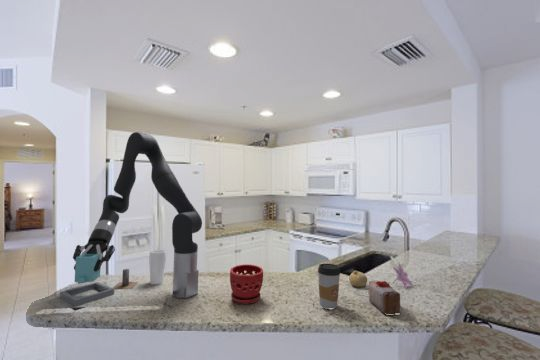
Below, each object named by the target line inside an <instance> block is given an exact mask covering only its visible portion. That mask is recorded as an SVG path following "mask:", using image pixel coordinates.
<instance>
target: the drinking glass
mask: <svg viewBox="0 0 540 360" xmlns="http://www.w3.org/2000/svg"><path fill="white" fill-rule="evenodd" d="M148 257H149V258H148V261H149V263H148V264H149V283H150V285H159V284H163V282H164V278H165V277H164V276H165V269H166V259H167V251H166V250H165V249H153V250H150V251H149V256H148Z"/></svg>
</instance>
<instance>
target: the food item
mask: <svg viewBox="0 0 540 360" xmlns="http://www.w3.org/2000/svg"><path fill="white" fill-rule="evenodd" d="M390 283H391V281H389V282H387V281H386V280H382V281H381V280H377V279H376V280H370V281H368V301H369V302H370V301H371V302H372V303H371V302H370V303H371V304H373V305H374V306H375V307H376V308H377V309H378V310H379V309H380V310H379V311H381V313H383V314H384V313H386V314H395V313H400V314H401V294H400V293H399V292H398V291H396V289H394V288H393V287H392V286H391V285H390Z"/></svg>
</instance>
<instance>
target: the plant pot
mask: <svg viewBox="0 0 540 360" xmlns="http://www.w3.org/2000/svg"><path fill="white" fill-rule="evenodd" d="M229 271H230V272H229V284H230V289H231V291H232V292H231V295H230V297H231V299H232V300H233V301H234V302H236V303H238V304H243V305H249V303H250V304H253V303H256V302H257V301H259V300H260V298H261V290H262V287H263V281H264V268H263V267H261V266H259V265H255V264H239V265H235V266H233V267H231V268H230V270H229ZM253 272H254V273H253Z"/></svg>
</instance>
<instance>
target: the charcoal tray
mask: <svg viewBox="0 0 540 360" xmlns="http://www.w3.org/2000/svg"><path fill="white" fill-rule="evenodd" d="M95 289H96V290H98V292H96V293H92V294H88V295H85V296H82V297H76V296H74V295H78V294H81V293H85V292H89V291H92V290H95ZM114 294H115V289H113V287H110V286H108V285H106V284H103V283H101V282H99V281H97V282H91V283H89V284H84V285H80V286H77V287H74V288H70V289H66V290H65V289H64V290H62V291H59V298H60V299H61V300H63V301H65V302H66V303H68V304H70V305H72V306H74V307H70V309H71V310H73V311H75V312H76V311H78V310H82V309H85V308H86V306H81V305H85V304H88V303H91V302H93V301H94V302H95V301H97V300H101V299H103V298H106V297H110V296H113V295H114ZM80 306H81V307H80Z"/></svg>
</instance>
